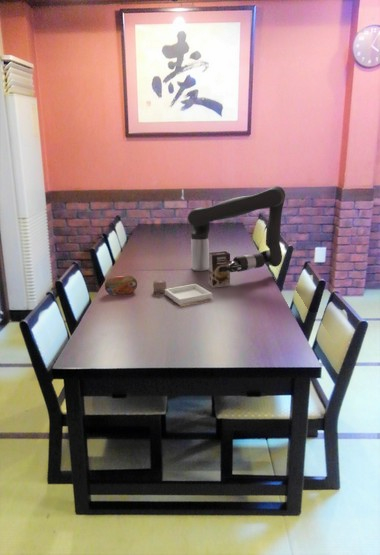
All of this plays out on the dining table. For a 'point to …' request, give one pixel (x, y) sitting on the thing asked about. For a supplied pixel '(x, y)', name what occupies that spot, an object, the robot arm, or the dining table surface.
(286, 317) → the dining table surface
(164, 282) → the rounded taupe cylinder
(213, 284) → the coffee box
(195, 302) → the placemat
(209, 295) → the dish
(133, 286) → the tin
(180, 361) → the dining table surface
